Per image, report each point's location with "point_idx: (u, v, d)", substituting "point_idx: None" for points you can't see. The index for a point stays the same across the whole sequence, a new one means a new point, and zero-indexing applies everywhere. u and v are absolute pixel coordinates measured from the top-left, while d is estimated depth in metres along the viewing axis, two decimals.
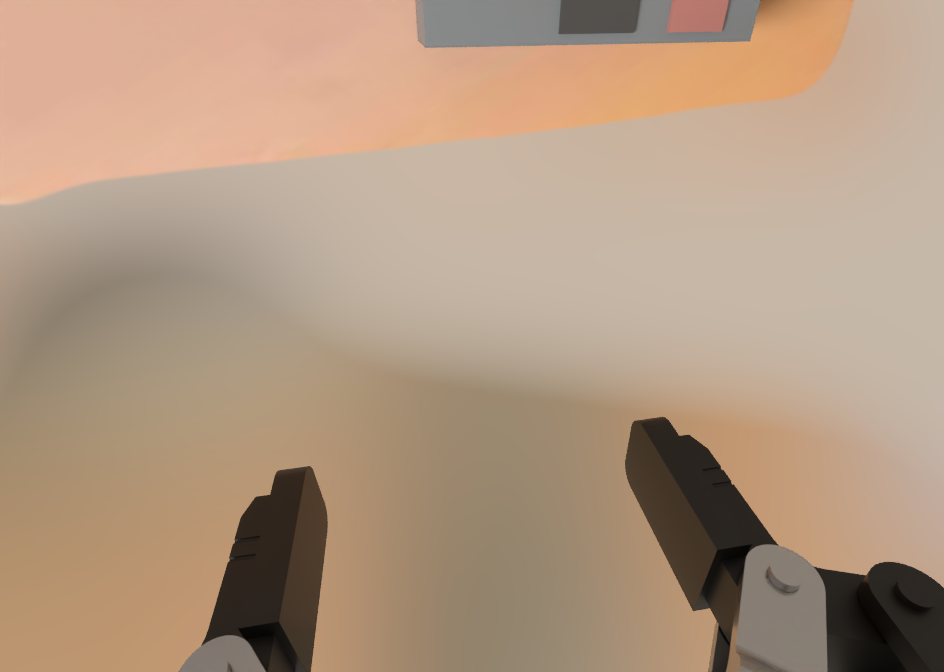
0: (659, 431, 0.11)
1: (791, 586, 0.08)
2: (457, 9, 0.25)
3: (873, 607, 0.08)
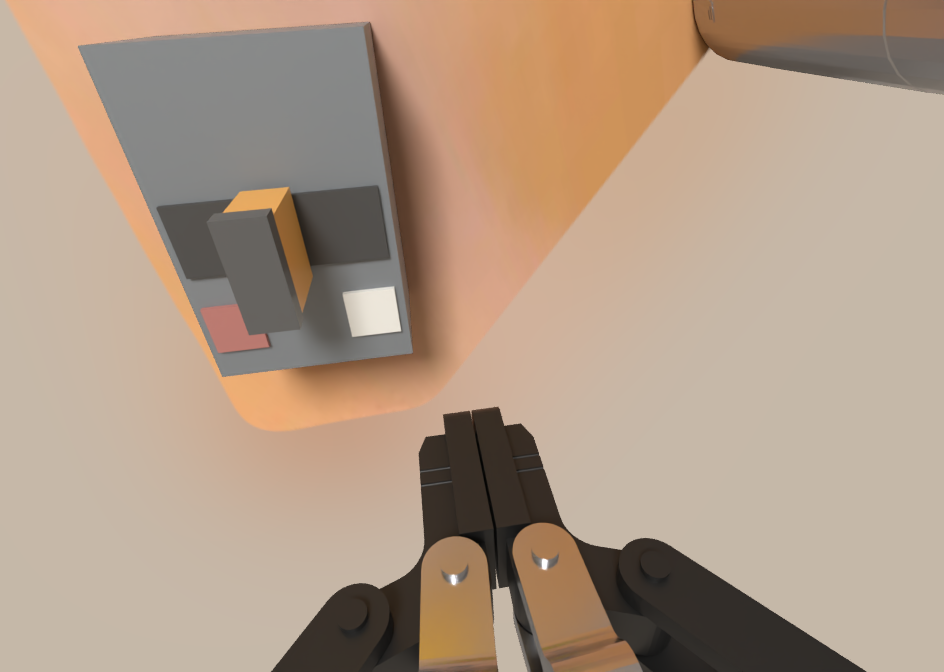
0: (487, 420, 0.12)
1: (545, 560, 0.09)
2: (134, 87, 0.22)
3: (636, 600, 0.08)
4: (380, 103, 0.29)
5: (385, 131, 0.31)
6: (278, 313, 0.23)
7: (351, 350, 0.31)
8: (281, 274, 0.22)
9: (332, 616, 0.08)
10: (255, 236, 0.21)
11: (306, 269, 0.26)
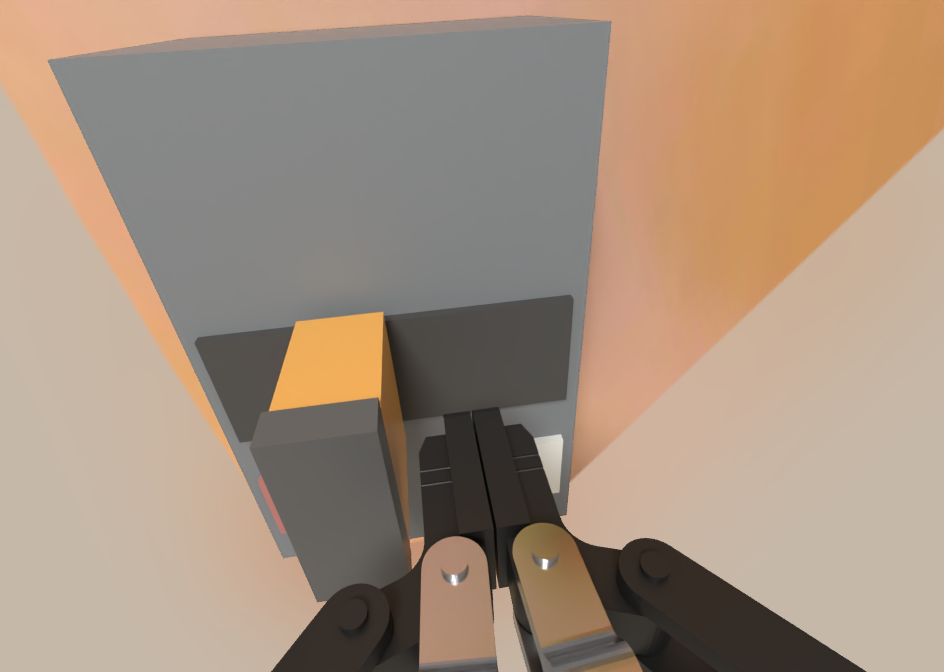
0: (487, 420, 0.12)
1: (545, 560, 0.09)
2: (162, 139, 0.11)
3: (636, 600, 0.08)
4: None
5: None
6: (375, 570, 0.12)
7: None
8: (391, 517, 0.11)
9: (332, 616, 0.08)
10: (349, 464, 0.10)
11: (402, 439, 0.15)
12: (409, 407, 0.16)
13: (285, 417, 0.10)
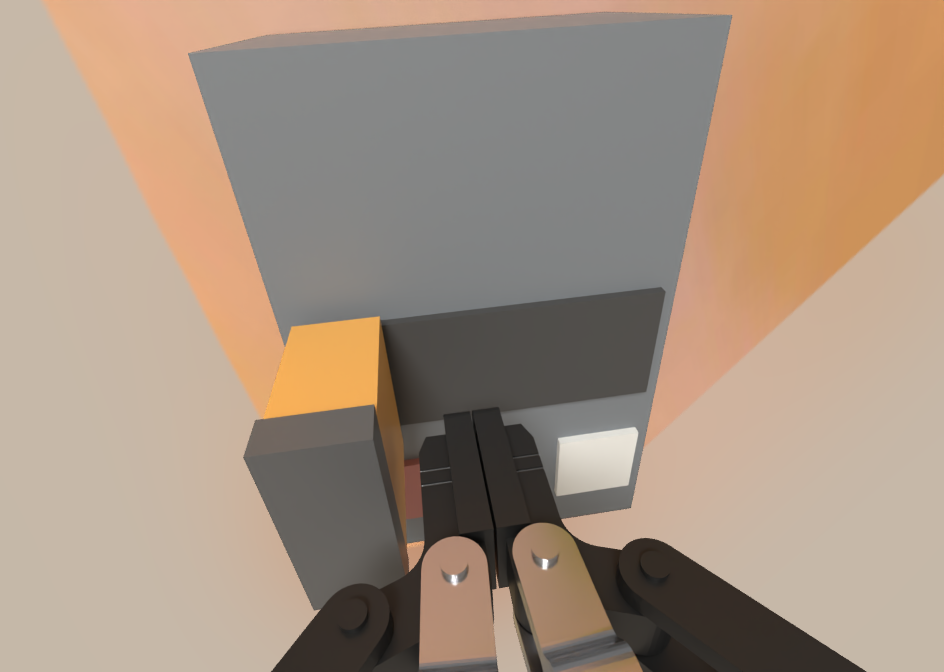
0: (487, 420, 0.12)
1: (545, 559, 0.09)
2: (288, 132, 0.11)
3: (636, 600, 0.08)
4: None
5: None
6: (372, 577, 0.12)
7: None
8: (387, 524, 0.11)
9: (332, 616, 0.08)
10: (345, 473, 0.10)
11: (400, 445, 0.15)
12: (494, 400, 0.16)
13: (279, 425, 0.10)
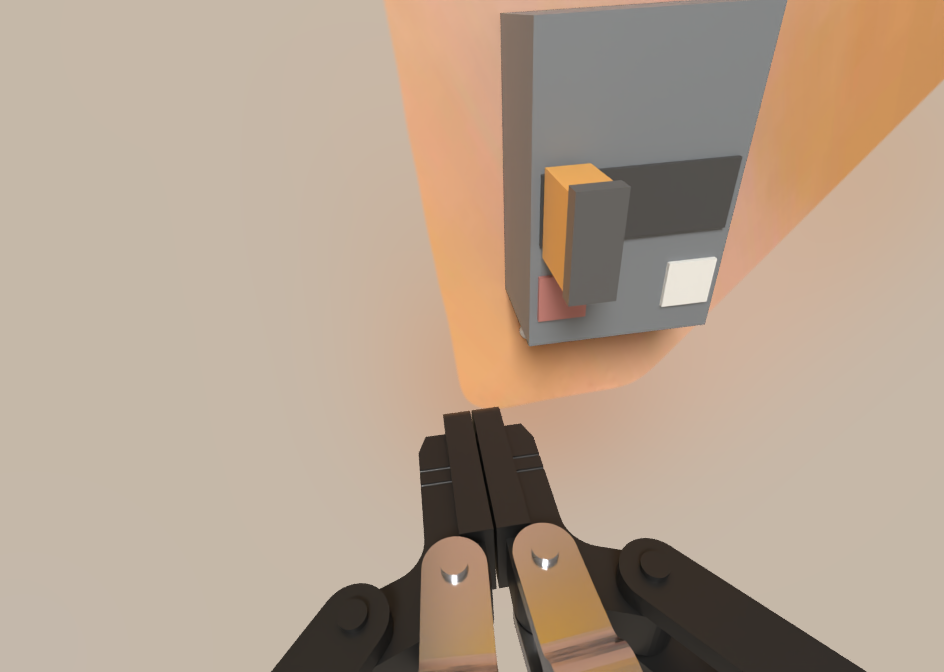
0: (487, 420, 0.12)
1: (545, 560, 0.09)
2: (567, 55, 0.23)
3: (636, 600, 0.08)
4: None
5: None
6: (602, 284, 0.23)
7: (652, 320, 0.32)
8: (620, 245, 0.22)
9: (332, 616, 0.08)
10: (613, 206, 0.21)
11: None
12: (637, 227, 0.28)
13: (582, 185, 0.21)
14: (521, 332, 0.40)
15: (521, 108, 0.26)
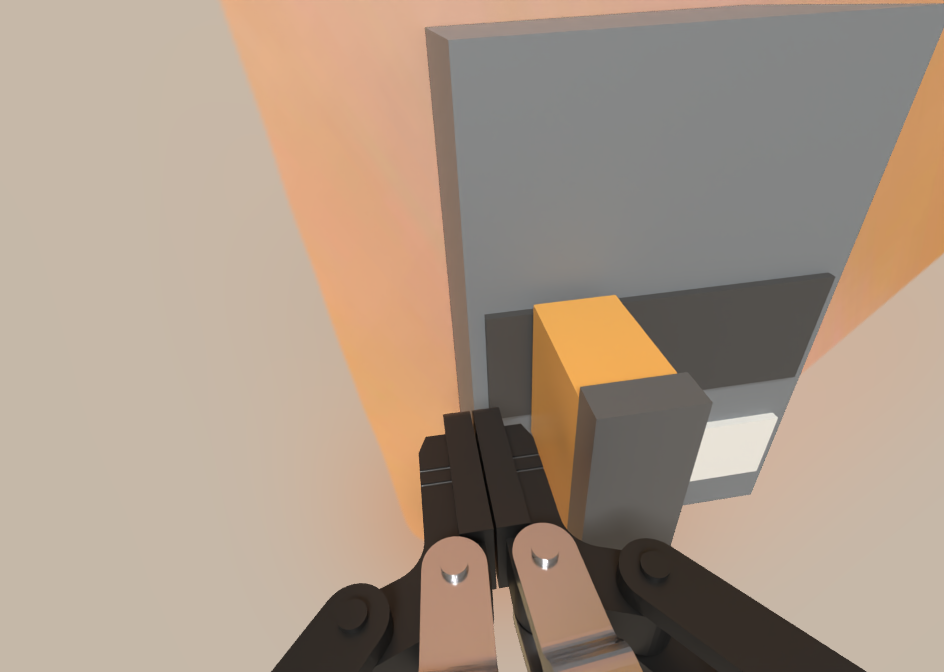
0: (486, 420, 0.12)
1: (545, 559, 0.09)
2: (521, 117, 0.12)
3: (636, 600, 0.08)
4: None
5: None
6: None
7: None
8: (682, 489, 0.11)
9: (332, 616, 0.08)
10: (673, 436, 0.10)
11: None
12: None
13: (608, 391, 0.10)
14: None
15: (451, 196, 0.15)
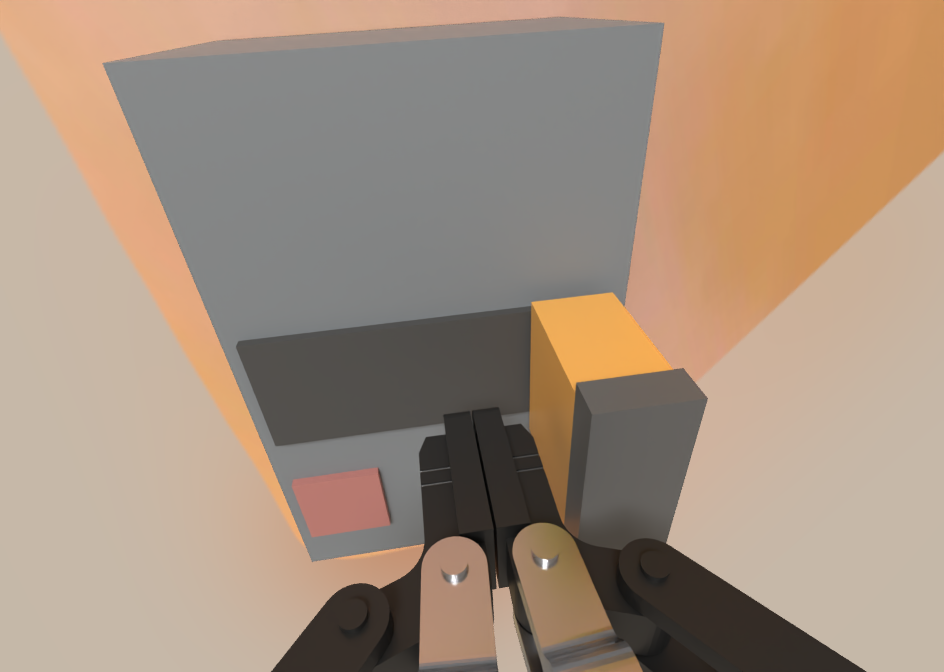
0: (487, 420, 0.12)
1: (545, 560, 0.09)
2: (212, 142, 0.11)
3: (636, 600, 0.08)
4: None
5: None
6: None
7: None
8: (677, 485, 0.11)
9: (332, 616, 0.08)
10: (668, 431, 0.10)
11: None
12: (445, 410, 0.16)
13: (604, 386, 0.10)
14: None
15: None
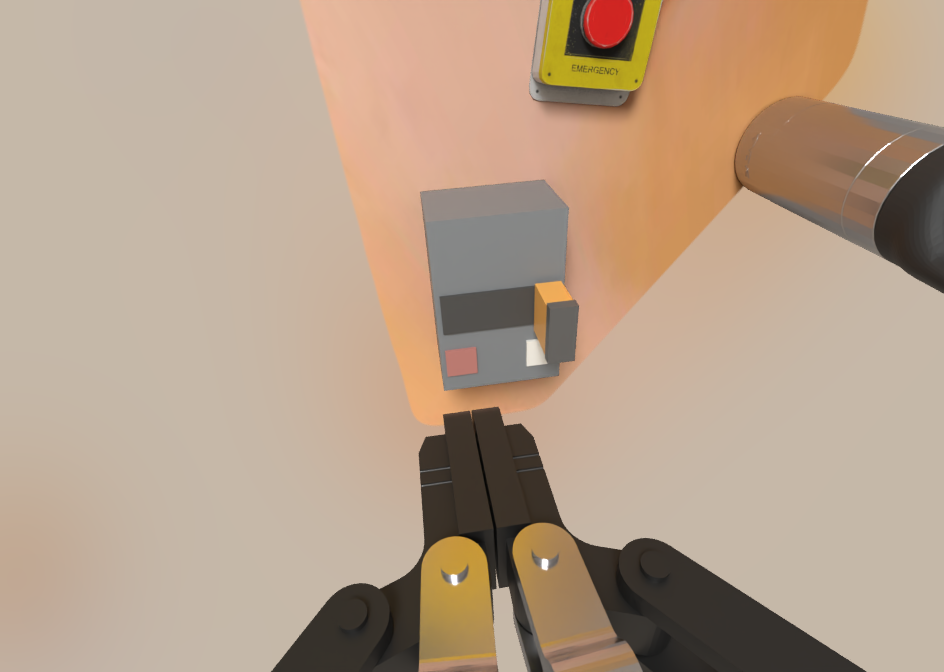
0: (487, 420, 0.12)
1: (545, 560, 0.09)
2: (446, 239, 0.41)
3: (636, 599, 0.08)
4: None
5: None
6: (566, 352, 0.42)
7: (523, 374, 0.50)
8: (575, 333, 0.41)
9: (332, 616, 0.08)
10: (570, 315, 0.40)
11: None
12: (502, 322, 0.46)
13: (554, 303, 0.40)
14: None
15: None
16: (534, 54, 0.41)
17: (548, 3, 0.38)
